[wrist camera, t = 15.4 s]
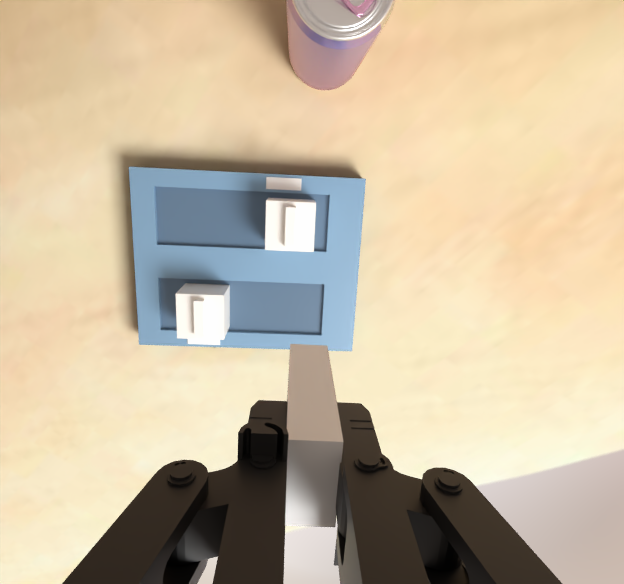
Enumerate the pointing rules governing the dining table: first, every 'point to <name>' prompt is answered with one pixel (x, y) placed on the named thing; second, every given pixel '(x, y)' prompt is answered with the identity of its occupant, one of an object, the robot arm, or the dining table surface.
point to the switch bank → (245, 256)
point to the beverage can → (332, 37)
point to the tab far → (203, 311)
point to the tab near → (290, 224)
